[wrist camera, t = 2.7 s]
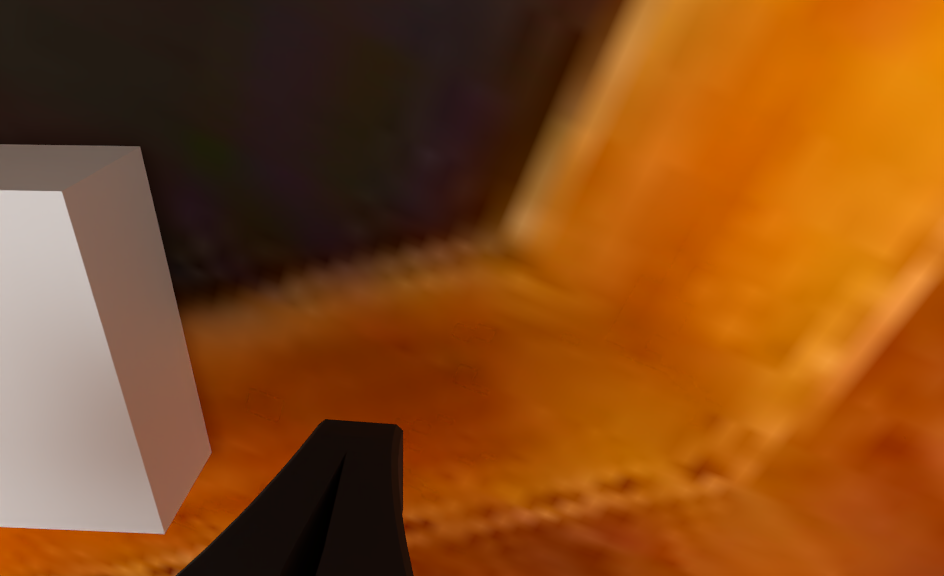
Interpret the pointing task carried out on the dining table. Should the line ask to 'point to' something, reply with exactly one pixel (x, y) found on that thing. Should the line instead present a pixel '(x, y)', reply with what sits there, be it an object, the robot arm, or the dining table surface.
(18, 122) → the dining table surface
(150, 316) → the pale grey box
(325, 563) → the robot arm
